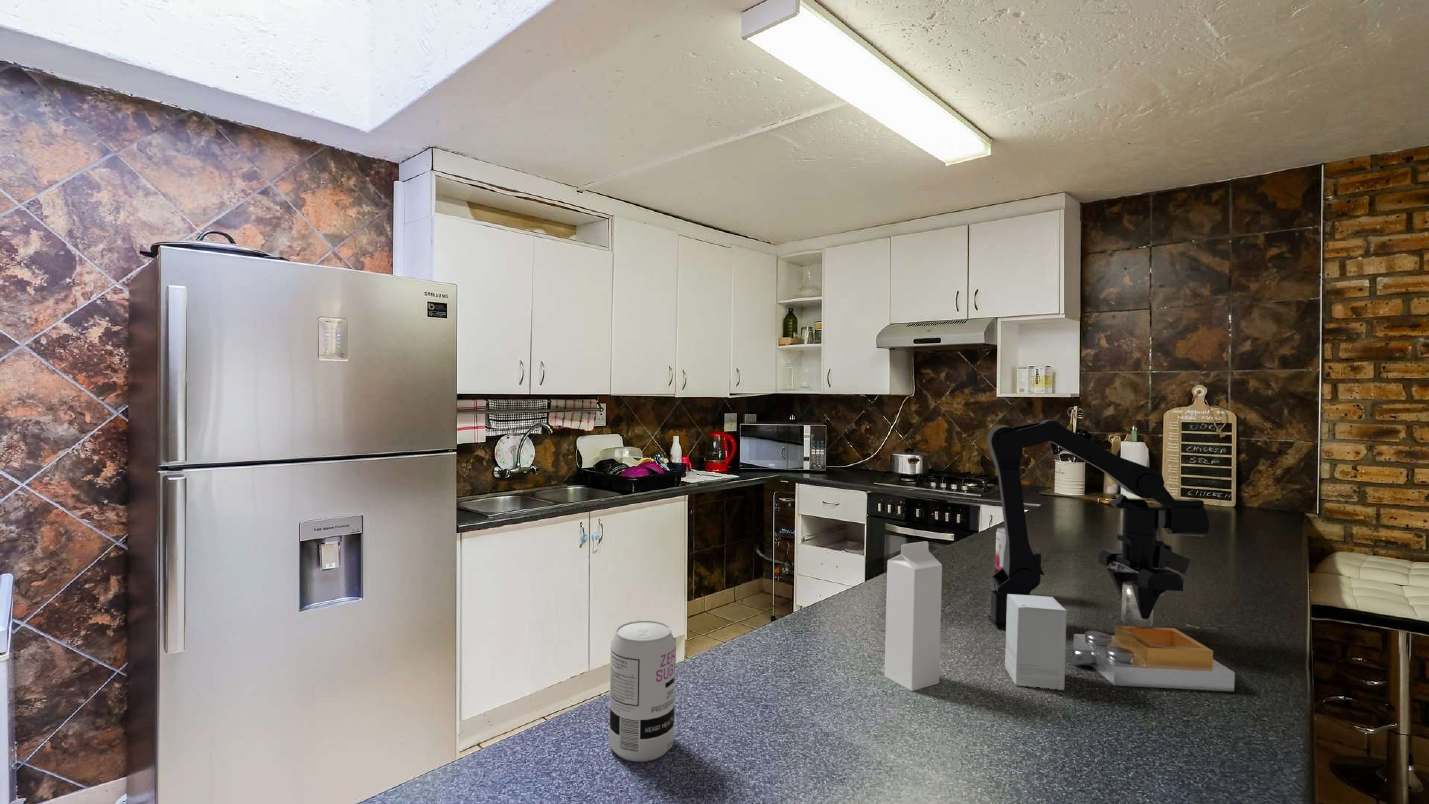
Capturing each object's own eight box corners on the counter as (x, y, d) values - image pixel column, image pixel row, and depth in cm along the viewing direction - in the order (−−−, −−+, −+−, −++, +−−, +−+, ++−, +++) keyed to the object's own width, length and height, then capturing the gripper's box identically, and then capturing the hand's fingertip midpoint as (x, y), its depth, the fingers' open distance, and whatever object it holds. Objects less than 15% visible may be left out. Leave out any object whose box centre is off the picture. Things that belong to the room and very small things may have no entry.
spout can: (1130, 626, 124) (1131, 585, 123) (1116, 616, 129) (1117, 578, 128) (1170, 628, 123) (1171, 587, 123) (1154, 618, 128) (1155, 579, 128)
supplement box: (1065, 691, 103) (1068, 610, 102) (1014, 686, 104) (1016, 606, 104) (1051, 671, 110) (1053, 596, 110) (1003, 667, 111) (1006, 592, 111)
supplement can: (611, 730, 88) (613, 619, 88) (673, 729, 89) (675, 618, 89) (606, 765, 80) (608, 642, 80) (674, 763, 81) (676, 641, 81)
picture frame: (1094, 684, 105) (1095, 650, 105) (1056, 649, 119) (1057, 619, 119) (1234, 691, 104) (1235, 656, 104) (1178, 655, 118) (1179, 624, 118)
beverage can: (991, 597, 149) (993, 531, 149) (997, 590, 155) (999, 526, 154) (1023, 603, 145) (1025, 535, 145) (1028, 595, 151) (1030, 530, 151)
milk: (939, 684, 105) (944, 545, 104) (911, 692, 102) (916, 549, 101) (910, 669, 110) (915, 537, 109) (883, 676, 107) (887, 540, 106)
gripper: (1218, 545, 116) (1214, 634, 116) (1155, 523, 134) (1152, 600, 135) (1151, 543, 116) (1148, 631, 117) (1098, 521, 135) (1095, 597, 135)
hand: (1136, 613), depth 126 cm, fingers closed on spout can, 5 cm apart
